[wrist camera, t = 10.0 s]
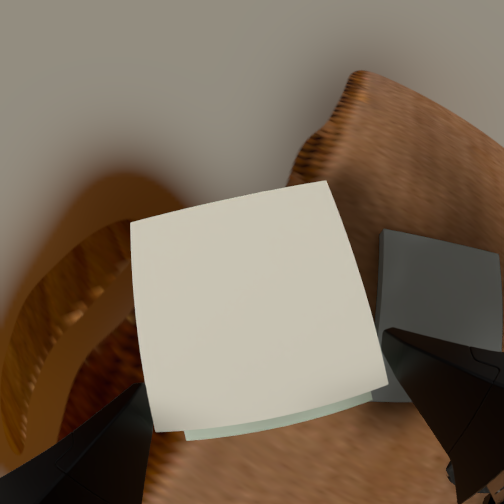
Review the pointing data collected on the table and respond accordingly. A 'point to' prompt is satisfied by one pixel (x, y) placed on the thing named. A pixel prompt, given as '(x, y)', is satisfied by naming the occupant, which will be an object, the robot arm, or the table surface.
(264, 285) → the white block
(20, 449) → the table surface
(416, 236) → the coaster
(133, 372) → the table surface
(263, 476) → the table surface
